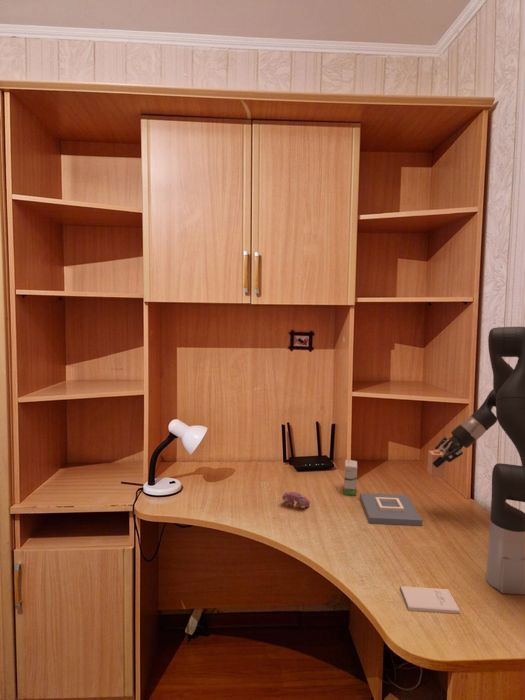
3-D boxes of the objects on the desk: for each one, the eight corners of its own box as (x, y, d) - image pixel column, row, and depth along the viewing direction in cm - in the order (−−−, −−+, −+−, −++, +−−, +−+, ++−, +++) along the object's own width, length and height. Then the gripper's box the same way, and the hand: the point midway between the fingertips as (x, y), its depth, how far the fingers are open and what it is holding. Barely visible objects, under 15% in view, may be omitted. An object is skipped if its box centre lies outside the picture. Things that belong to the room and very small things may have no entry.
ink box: (356, 496, 170) (357, 467, 169) (343, 495, 171) (344, 466, 170) (356, 487, 178) (357, 459, 177) (344, 486, 179) (345, 458, 178)
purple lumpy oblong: (282, 507, 162) (279, 495, 159) (287, 498, 166) (284, 485, 162) (307, 514, 158) (304, 501, 154) (311, 504, 161) (308, 491, 158)
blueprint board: (422, 525, 148) (422, 516, 147) (369, 523, 149) (369, 514, 148) (406, 500, 167) (406, 492, 167) (359, 497, 169) (360, 490, 168)
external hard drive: (399, 591, 114) (447, 593, 113) (408, 612, 106) (459, 615, 105) (400, 585, 114) (447, 588, 113) (408, 606, 106) (460, 609, 105)
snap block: (444, 476, 153) (445, 453, 152) (431, 476, 154) (432, 452, 153) (439, 472, 158) (441, 448, 157) (427, 471, 158) (428, 448, 157)
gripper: (453, 419, 161) (419, 449, 162) (469, 429, 146) (431, 462, 148) (467, 433, 161) (432, 463, 163) (484, 445, 147) (446, 478, 148)
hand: (432, 463), depth 155 cm, fingers closed on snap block, 4 cm apart
